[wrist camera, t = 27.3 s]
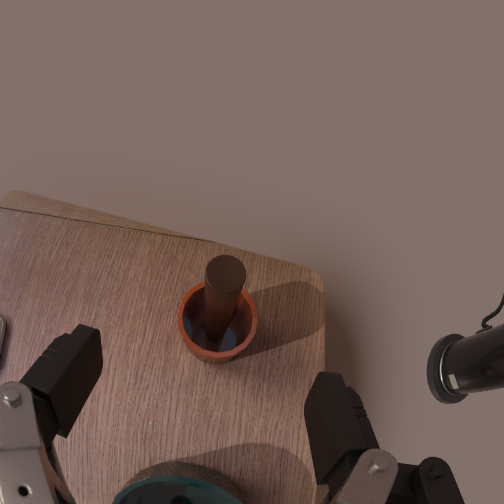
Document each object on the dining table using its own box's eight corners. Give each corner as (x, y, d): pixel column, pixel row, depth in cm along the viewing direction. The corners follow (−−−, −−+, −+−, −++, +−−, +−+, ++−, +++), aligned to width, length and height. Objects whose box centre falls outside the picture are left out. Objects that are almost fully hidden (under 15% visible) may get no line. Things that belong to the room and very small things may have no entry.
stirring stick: (222, 321, 32) (241, 251, 16) (226, 340, 31) (250, 289, 15) (203, 324, 32) (202, 257, 16) (206, 344, 31) (208, 295, 15)
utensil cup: (239, 299, 34) (248, 274, 27) (251, 357, 32) (265, 349, 25) (179, 308, 33) (172, 285, 26) (189, 368, 30) (184, 363, 23)
